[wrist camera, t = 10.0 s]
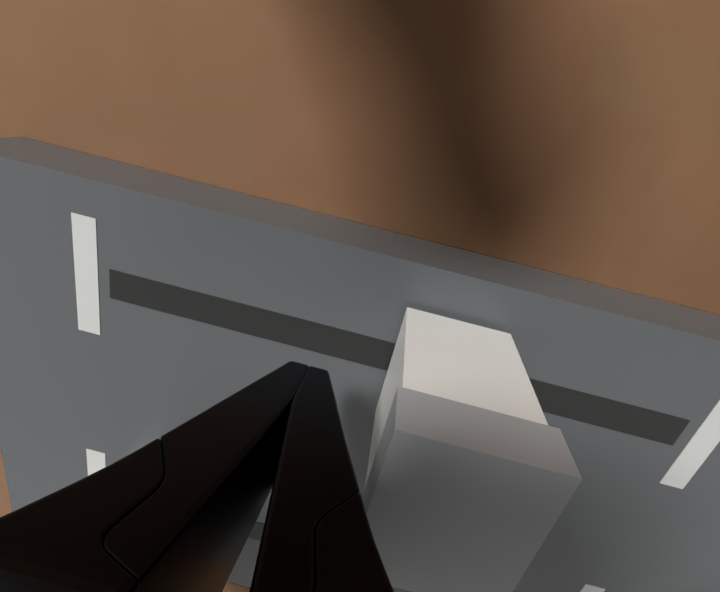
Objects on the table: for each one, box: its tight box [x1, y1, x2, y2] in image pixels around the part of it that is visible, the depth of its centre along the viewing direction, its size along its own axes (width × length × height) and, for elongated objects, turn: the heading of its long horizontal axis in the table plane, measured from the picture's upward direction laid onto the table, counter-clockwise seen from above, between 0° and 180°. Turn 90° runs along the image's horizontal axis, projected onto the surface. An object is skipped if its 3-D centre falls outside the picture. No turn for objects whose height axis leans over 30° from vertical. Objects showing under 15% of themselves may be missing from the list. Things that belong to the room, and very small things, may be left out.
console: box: [0, 137, 720, 592], centre depth 13 cm, size 22×13×2 cm, turn 77°
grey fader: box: [362, 307, 582, 592], centre depth 8 cm, size 3×3×4 cm
